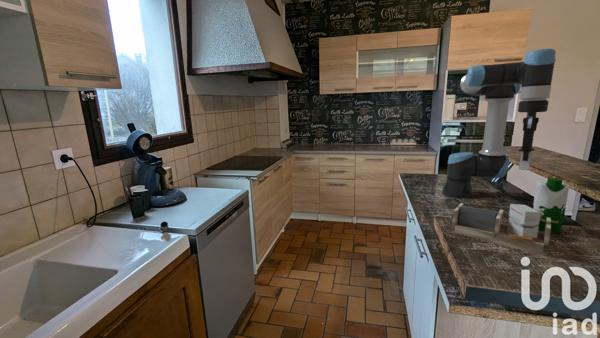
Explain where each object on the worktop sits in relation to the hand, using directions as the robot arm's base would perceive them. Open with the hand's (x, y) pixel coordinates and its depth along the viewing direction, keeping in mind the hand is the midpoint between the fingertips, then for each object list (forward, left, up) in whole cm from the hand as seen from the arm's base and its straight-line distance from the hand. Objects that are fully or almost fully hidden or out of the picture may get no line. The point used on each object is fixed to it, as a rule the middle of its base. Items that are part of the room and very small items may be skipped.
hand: (523, 169), depth 95 cm
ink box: (+5, +2, -24) cm, 25 cm away
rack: (+5, -5, -25) cm, 26 cm away
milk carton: (-16, +8, -25) cm, 31 cm away
